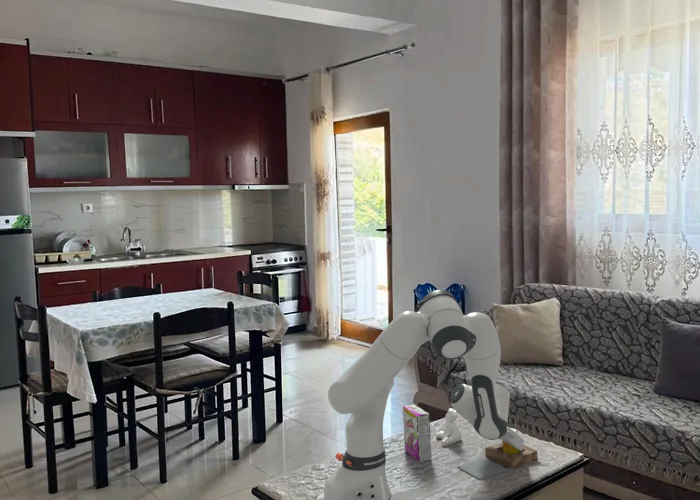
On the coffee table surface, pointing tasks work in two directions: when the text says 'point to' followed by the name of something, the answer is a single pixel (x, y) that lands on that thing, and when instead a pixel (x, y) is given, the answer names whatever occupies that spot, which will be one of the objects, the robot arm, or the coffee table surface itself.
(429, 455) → the candy bar box
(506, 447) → the supplement bottle
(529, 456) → the pocket block
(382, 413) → the robot arm
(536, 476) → the coffee table surface
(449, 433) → the sitting furry creature
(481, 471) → the rubber mat
